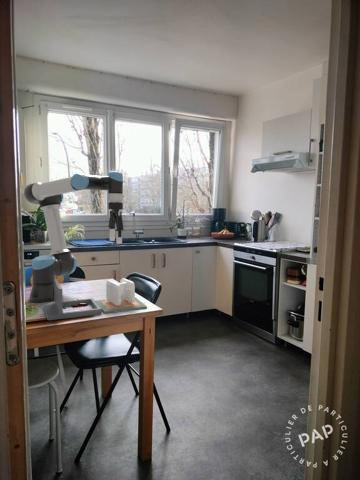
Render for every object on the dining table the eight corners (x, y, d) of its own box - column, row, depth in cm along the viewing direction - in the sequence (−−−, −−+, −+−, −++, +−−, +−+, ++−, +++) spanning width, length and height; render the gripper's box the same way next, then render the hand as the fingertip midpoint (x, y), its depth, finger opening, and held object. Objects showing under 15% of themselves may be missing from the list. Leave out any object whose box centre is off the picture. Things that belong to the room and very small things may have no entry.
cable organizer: (135, 304, 178) (136, 282, 177) (117, 308, 172) (117, 285, 171) (123, 298, 190) (123, 277, 189) (105, 300, 184) (105, 279, 183)
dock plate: (95, 302, 184) (95, 300, 184) (134, 298, 194) (134, 296, 194) (104, 313, 167) (104, 311, 167) (146, 308, 176) (146, 306, 176)
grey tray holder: (43, 307, 173) (43, 280, 172) (92, 302, 184) (92, 277, 183) (47, 320, 155) (47, 290, 154) (101, 313, 166) (101, 285, 164)
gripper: (129, 202, 170) (129, 244, 172) (116, 201, 192) (116, 239, 195) (115, 201, 167) (115, 245, 169) (102, 201, 189) (102, 240, 191)
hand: (115, 242), depth 182 cm, fingers open, 13 cm apart
